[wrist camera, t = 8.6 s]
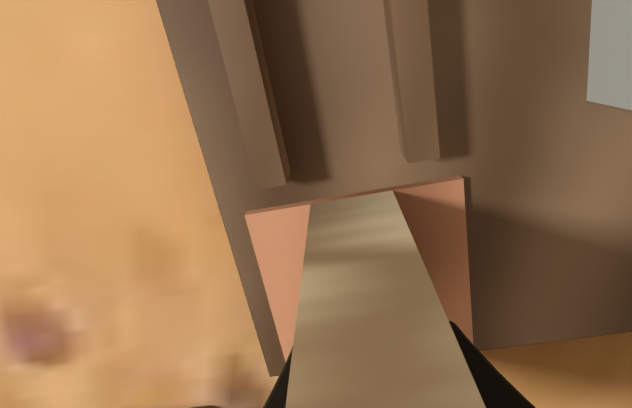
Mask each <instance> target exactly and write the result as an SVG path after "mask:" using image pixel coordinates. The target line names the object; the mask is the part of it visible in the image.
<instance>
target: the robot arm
mask: <svg viewBox="0 0 632 408" xmlns="http://www.w3.org/2000/svg"><path fill="white" fill-rule="evenodd" d="M449 323H450V325H451V328H452V330H453V332H454V335H455V337H456V339H457V342H458V344H459V346H460V349H461V351H462V353H463V356H464V358H465V360H466V363H467V365H468V367H469V370H470V372H471V374H472V377H473V379H474V381H475V384H476V386H477V388H478V391H479V393H480V395H481V398H482V400H483V402H484V405H485V407H486V408H535V407H534V406H533V405H532V404H531V403H530V402H529V401H528V400H527V399H526V398H525V397H524V396H523V395H522V394H521V393H520V392H518V391H517V390H516V389H515V388H514V387H513V386H512V385H511V384H510V383H509V382H508V381H507V380H506V379H505V378H504V377H503V376H502V375H501V374H500V373H499V372H498V371H497V370H496V369H495V368H494V367H493V365H492V364H491V363H490V362H489V361H488V360H487V359H486V358H485V357H484V356H483V355H482V354H481V353H480V352H479V350H478V349H477V348H476V347H475V346H474V345H473V344H472V343H471V341H470V340H469V339H468V338H467V337H466V336H465V334H464V333H463V332H462V331H461V330H460V328H459V327H458V326H457V325H456V324H455V323H454V322H452V321H449ZM292 350H293V347H292V349H291V352H290V354H289V356H288V358H287V361H286V363H285V365H284V367H283V369H282V372H281V374H280V376H279V378H278V380H277V382H276V384H275V386H274V388H273V390H272V392H271V394H270V396H269V398H268V399H267V401H266V403H265V405H264V407H263V408H285V407H286V399H287V391H288V383H289V375H290V366H291V358H292Z"/></svg>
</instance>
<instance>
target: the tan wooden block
mask: <svg viewBox="0 0 632 408" xmlns="http://www.w3.org/2000/svg"><path fill="white" fill-rule="evenodd" d="M285 408H486V407H485V405H484V402H483V400H482V398H481V395H480V393H479V391H478V388H477V386H476V384H475V381H474V379H473V377H472V374H471V372H470V370H469V367H468V365H467V363H466V360H465V358H464V356H463V353H462V351H461V349H460V346H459V344H458V342H457V339H456V337H455V335H454V332H453V330H452V328H451V325H450V323H449V321H448V318H447V316H446V314H445V311H444V309H443V307H442V304H441V302H440V300H439V297H438V295H437V293H436V290H435V288H434V286H433V283H432V281H431V279H430V276H429V274H428V272H427V269H426V267H425V265H424V262H423V260H422V258H421V255H420V253H419V251H418V248H417V246H416V244H415V242H414V239H413V237H412V235H411V232H410V230H409V228H408V225H407V223H406V221H405V218H404V216H403V214H402V211H401V209H400V207H399V204H398V202H397V200H396V197H395V195H394V193H393V190H392V191H386V192H380V193H374V194H368V195H362V196H356V197H350V198H344V199H338V200H332V201H326V202H321V203H315V204H310V212H309V220H308V228H307V237H306V245H305V253H304V261H303V269H302V277H301V285H300V293H299V302H298V310H297V318H296V326H295V334H294V342H293V350H292V358H291V366H290V375H289V383H288V391H287V399H286V407H285Z"/></svg>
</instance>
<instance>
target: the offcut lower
mask: <svg viewBox="0 0 632 408" xmlns="http://www.w3.org/2000/svg"><path fill="white" fill-rule="evenodd" d="M587 101H590V102H595V103H599V104H604V105H609V106H613V107H618V108H622V109H627V110H632V0H592V10H591V28H590V47H589V66H588V84H587Z"/></svg>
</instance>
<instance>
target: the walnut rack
mask: <svg viewBox="0 0 632 408" xmlns="http://www.w3.org/2000/svg"><path fill="white" fill-rule="evenodd" d="M156 2H157V5H158V8H159V12H160V15H161V18H162V22H163V25H164V28H165V32H166V35H167V38H168V41H169V45H170V48H171V51H172V55H173V58H174V61H175V65H176V68H177V71H178V74H179V78H180V81H181V84H182V88H183V91H184V94H185V98H186V101H187V104H188V107H189V111H190V114H191V117H192V121H193V124H194V127H195V131H196V134H197V137H198V140H199V144H200V147H201V150H202V154H203V157H204V160H205V164H206V167H207V170H208V173H209V177H210V180H211V183H212V187H213V190H214V193H215V197H216V200H217V203H218V206H219V210H220V213H221V216H222V220H223V223H224V226H225V230H226V233H227V236H228V240H229V243H230V246H231V249H232V253H233V256H234V259H235V263H236V266H237V269H238V273H239V276H240V279H241V282H242V286H243V289H244V292H245V296H246V299H247V302H248V306H249V309H250V312H251V315H252V319H253V322H254V325H255V329H256V332H257V335H258V339H259V342H260V345H261V348H262V352H263V355H264V358H265V362H266V365H267V368H268V372H269V375H270V377H271V376H279V375H280V374H281V372H282V369H283V367H284V365H285V363H286V361H287V358H288V356H289V354H290V352H291V349H292V347H293V342H294V334H295V326H296V318H297V310H298V302H299V293H300V285H301V277H302V269H303V261H304V253H305V245H306V237H307V228H308V220H309V212H310V204H315V203H321V202H326V201H332V200H338V199H344V198H350V197H356V196H362V195H368V194H374V193H380V192H386V191H392V190H393V193H394V195H395V197H396V200H397V202H398V204H399V207H400V209H401V211H402V214H403V216H404V218H405V221H406V223H407V225H408V228H409V230H410V232H411V235H412V237H413V239H414V242H415V244H416V246H417V248H418V251H419V253H420V255H421V258H422V260H423V262H424V265H425V267H426V269H427V272H428V274H429V276H430V279H431V281H432V283H433V286H434V288H435V290H436V293H437V295H438V297H439V300H440V302H441V304H442V307H443V309H444V311H445V314H446V316H447V318H448V321H452V322H454V323H455V324H456V325H457V326H458V327H459V328H460V330H461V331H462V332H463V333H464V334H465V336H466V337H467V338H468V339H469V340H470V341H471V343H472V344H473V345H474V346H475V347H476V348H477V349H478V350H479V351H480V350H488V349H496V348H504V347H512V346H521V345H529V344H537V343H545V342H553V341H561V340H569V339H577V338H585V337H593V336H601V335H609V334H617V333H625V332H632V110H627V109H622V108H618V107H613V106H609V105H604V104H599V103H595V102H590V101H587V84H588V66H589V47H590V28H591V10H592V0H156Z"/></svg>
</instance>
